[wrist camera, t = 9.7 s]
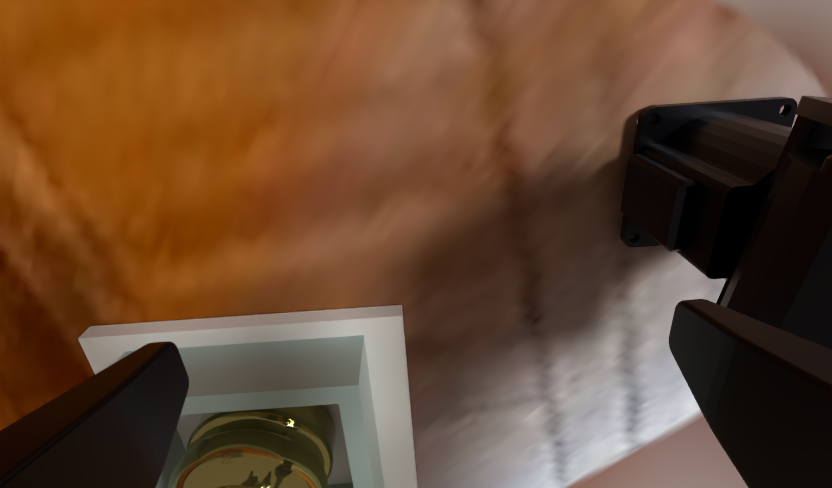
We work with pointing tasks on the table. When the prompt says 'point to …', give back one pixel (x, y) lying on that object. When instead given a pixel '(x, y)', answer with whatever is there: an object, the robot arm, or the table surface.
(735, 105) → the robot arm
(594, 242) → the table surface
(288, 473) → the gold rounded piece
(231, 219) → the table surface
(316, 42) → the table surface
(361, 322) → the grey green tray
